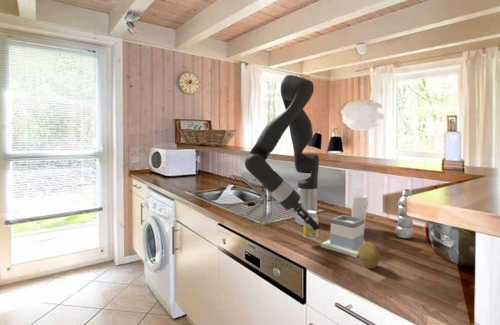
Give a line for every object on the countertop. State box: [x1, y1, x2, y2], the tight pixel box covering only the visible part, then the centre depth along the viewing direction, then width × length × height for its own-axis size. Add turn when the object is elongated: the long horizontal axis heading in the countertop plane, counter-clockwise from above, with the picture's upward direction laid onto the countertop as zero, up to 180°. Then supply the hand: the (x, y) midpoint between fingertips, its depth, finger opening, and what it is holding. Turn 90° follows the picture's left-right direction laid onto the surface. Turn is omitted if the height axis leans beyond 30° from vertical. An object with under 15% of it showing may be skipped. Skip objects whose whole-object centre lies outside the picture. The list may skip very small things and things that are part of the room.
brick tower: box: [320, 214, 366, 258], centre depth 116 cm, size 14×14×11 cm
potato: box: [358, 241, 381, 270], centre depth 99 cm, size 7×8×8 cm
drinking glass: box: [350, 194, 368, 228], centre depth 139 cm, size 7×7×15 cm
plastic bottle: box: [395, 189, 414, 240], centre depth 127 cm, size 6×7×20 cm
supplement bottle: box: [302, 210, 319, 240], centre depth 116 cm, size 5×5×10 cm
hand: (315, 225), depth 117 cm, fingers closed on supplement bottle, 5 cm apart
